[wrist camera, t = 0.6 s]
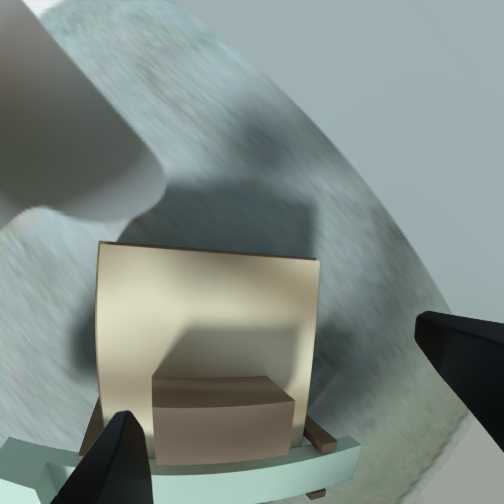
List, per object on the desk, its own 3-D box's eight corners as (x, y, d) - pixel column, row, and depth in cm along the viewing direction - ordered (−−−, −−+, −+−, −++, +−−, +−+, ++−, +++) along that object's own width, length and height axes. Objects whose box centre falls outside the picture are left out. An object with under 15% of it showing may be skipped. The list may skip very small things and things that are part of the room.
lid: (283, 476, 17) (317, 519, 12) (120, 485, 14) (118, 539, 9) (304, 261, 18) (359, 259, 13) (106, 246, 15) (83, 236, 10)
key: (340, 468, 16) (374, 497, 12) (22, 474, 10) (4, 511, 6) (348, 435, 16) (386, 462, 12) (9, 436, 10) (-16, 472, 6)
